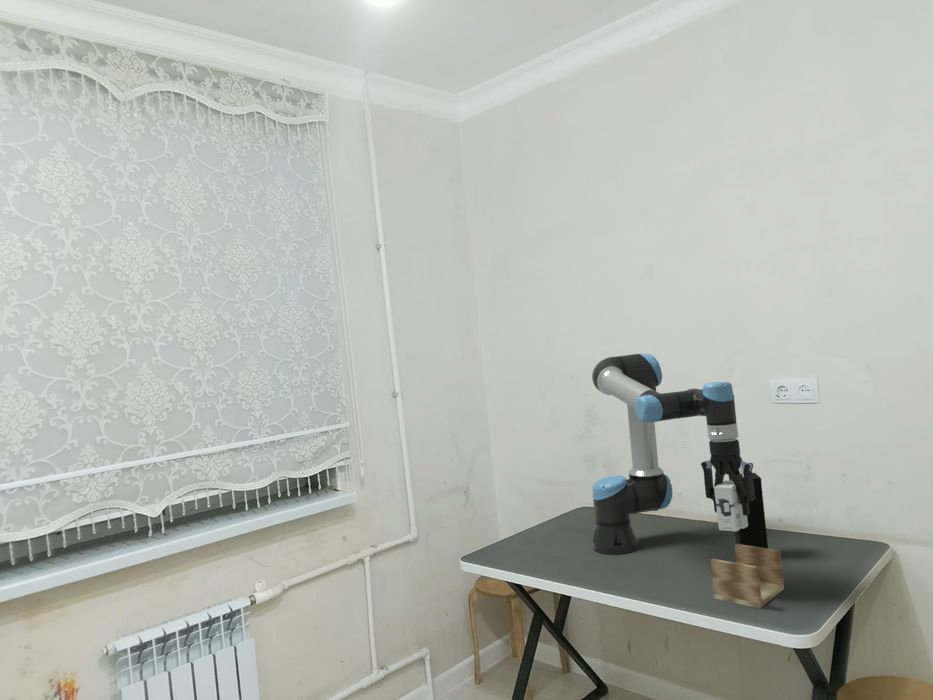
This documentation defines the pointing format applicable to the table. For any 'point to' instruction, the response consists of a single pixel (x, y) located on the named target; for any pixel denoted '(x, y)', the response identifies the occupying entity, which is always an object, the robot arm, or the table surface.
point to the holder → (748, 576)
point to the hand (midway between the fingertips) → (733, 525)
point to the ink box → (727, 506)
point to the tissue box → (754, 518)
